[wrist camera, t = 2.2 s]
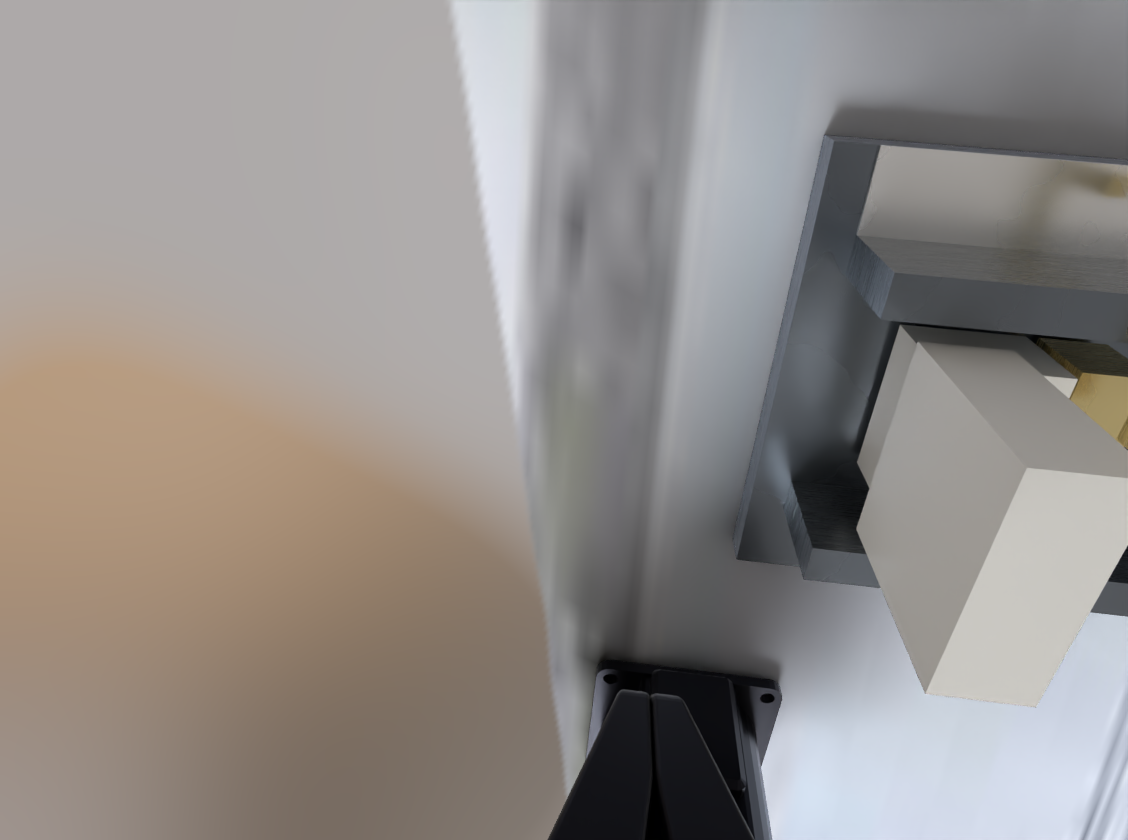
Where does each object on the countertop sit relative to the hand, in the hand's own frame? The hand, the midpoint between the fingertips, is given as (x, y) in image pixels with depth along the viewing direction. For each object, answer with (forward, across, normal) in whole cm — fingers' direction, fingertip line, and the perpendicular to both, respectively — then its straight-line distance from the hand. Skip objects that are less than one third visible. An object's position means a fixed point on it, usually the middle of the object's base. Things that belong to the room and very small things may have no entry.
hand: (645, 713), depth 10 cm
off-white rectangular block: (+11, -7, 0) cm, 13 cm away
